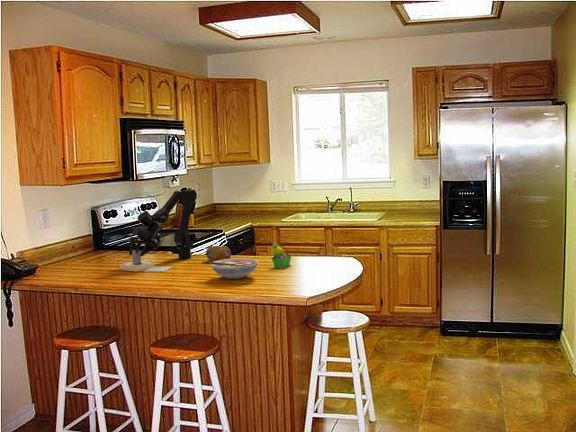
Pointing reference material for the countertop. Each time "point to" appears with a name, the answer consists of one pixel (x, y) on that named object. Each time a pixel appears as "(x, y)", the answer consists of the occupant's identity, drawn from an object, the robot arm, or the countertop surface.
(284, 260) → the fruit basket
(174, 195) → the robot arm
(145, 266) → the cover plate
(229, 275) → the ramen bowl
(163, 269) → the key mat
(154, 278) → the countertop surface
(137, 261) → the t key
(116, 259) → the countertop surface
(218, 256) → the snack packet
